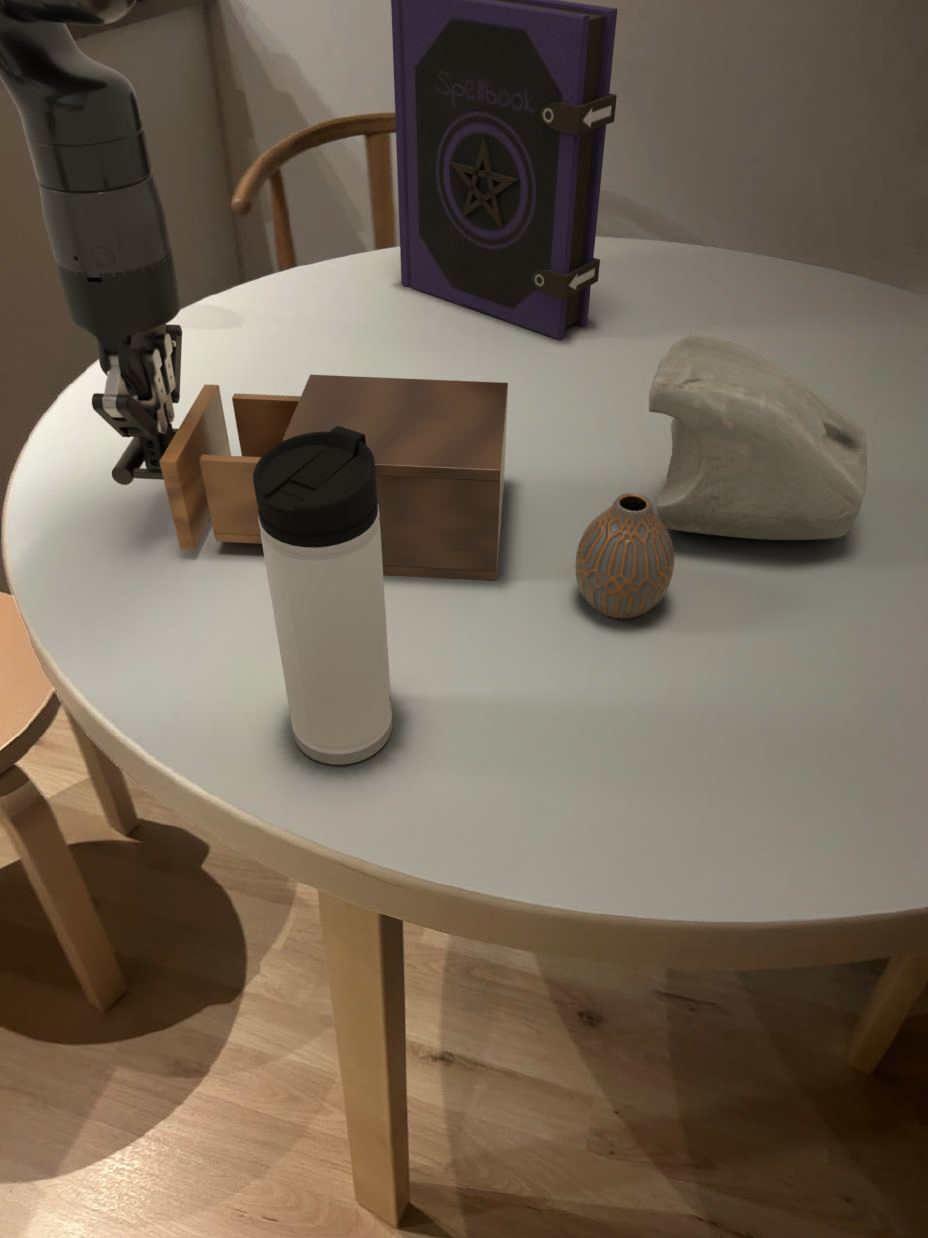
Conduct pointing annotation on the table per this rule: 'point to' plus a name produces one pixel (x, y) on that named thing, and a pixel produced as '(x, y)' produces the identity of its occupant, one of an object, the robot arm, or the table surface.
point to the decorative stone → (754, 447)
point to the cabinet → (424, 465)
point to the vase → (625, 558)
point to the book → (502, 153)
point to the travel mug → (327, 591)
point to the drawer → (214, 465)
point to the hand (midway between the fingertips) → (163, 468)
